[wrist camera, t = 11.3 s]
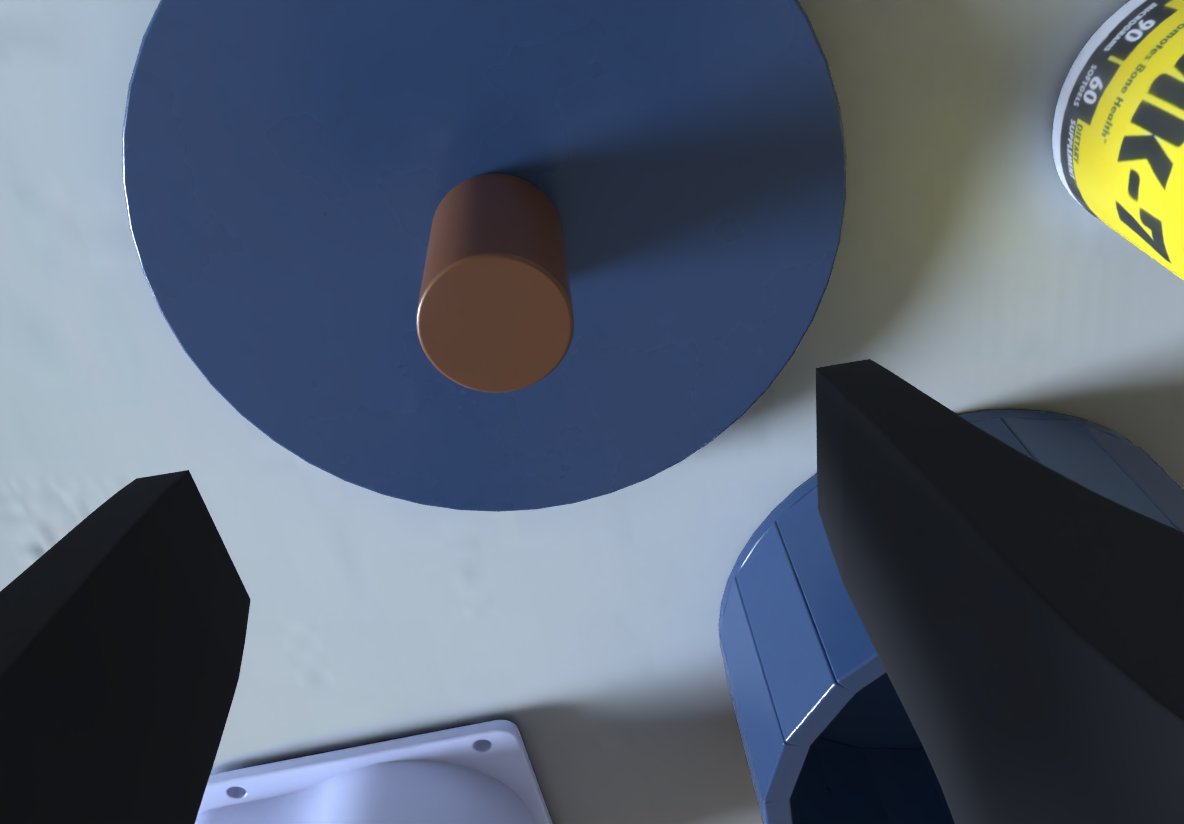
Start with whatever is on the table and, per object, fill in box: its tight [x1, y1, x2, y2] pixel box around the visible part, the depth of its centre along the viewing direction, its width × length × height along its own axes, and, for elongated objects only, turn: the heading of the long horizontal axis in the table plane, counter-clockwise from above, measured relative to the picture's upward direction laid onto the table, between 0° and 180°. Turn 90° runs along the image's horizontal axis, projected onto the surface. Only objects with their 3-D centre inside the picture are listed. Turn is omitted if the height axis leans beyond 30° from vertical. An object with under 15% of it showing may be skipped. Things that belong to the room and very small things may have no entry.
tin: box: [719, 409, 1184, 824], centre depth 23 cm, size 12×12×5 cm
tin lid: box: [122, 0, 846, 511], centre depth 16 cm, size 13×13×5 cm
